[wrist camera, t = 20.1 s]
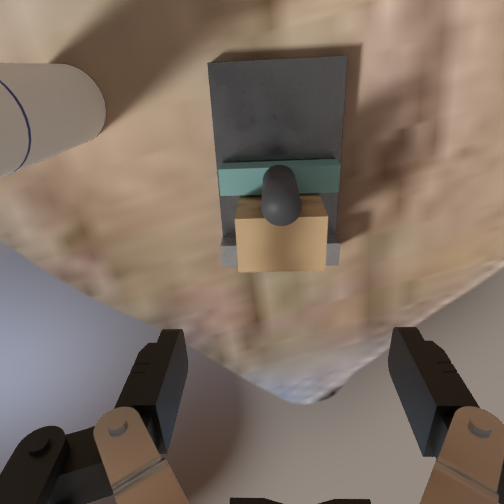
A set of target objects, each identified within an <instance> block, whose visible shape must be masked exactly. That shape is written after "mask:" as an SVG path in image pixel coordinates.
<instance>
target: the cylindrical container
mask: <svg viewBox="0 0 504 504" xmlns="http://www.w3.org/2000/svg"><path fill="white" fill-rule="evenodd" d="M105 119H106V107H105V101H104V98H103V96H102V93H101V91H100V89H99V88H98V86H97V85H96V83H95V82H94V81H93V80H92V79H91V78H90V77H89V76H88V75H87V74H86V73H84V72H83V71H82V70H80V69H78V68H76V67H74V66H71V65H67V64H39V63H0V178H2V177H4V176H7V175H9V174H11V173H14V172H16V171H19V170H21V169H23V168H26V167H28V166H31V165H33V164H35V163H38V162H40V161H43V160H45V159H47V158H50V157H52V156H54V155H57V154H59V153H62V152H64V151H66V150H69V149H71V148H74V147H76V146H78V145H81V144H83V143H86V142H88V141H90V140H92V139H94V138H95V137H96V136H97V135H98V134H99V133H100V132H101V130H102V128H103V126H104V123H105Z"/></svg>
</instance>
